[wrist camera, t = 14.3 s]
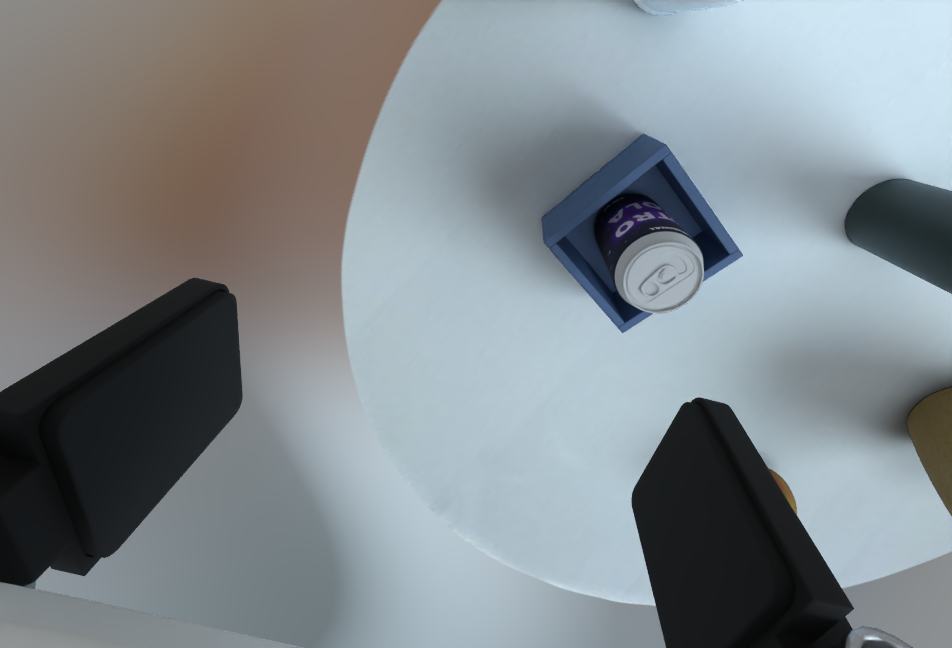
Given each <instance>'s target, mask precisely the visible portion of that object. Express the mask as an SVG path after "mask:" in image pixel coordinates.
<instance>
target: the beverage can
mask: <svg viewBox="0 0 952 648" xmlns="http://www.w3.org/2000/svg"><path fill="white" fill-rule="evenodd" d="M594 234H595V239H596V242H597V244H598V247H599V249H600V252H601V254H602V257H603V259H604V261H605V264H606V266H607V269H608V271H609V274H610V276H611V279H612V281H613V283H614V286H615V288H616V290H617V292H618V294H619V295H620V297H621V298H622V299H623V300H624V301H626V302H627V303H628V304H630V305H632V306H634V307H636V308H638V309H640V310H642V311H645V312H649V313H666V312H671V311H673V310H676V309H678V308H680V307H682V306H684V305H685V304H687V303H688V302H689V301H690V300H691V299H692V298H693V297H694V296H695V295H696V294H697V292H698V291H699V289H700V287H701V285H702V282H703V278H704V259H703V254H702V251H701V249H700V247H699V246H698V244H697V243H696V242H695V241H694V240H693V239H692V238H691V237H690V236H689V235H688V234H687V233H686V232H685V231H684V230H683V229H682V228H681V227H680V226H679V225H678V224H677V223H676V222H675V221H674V220H673V219H672V218H671V217H670V216H669V215H668V214H667V213H666V212H665V211H664V210H663V209H662V208H661V207H660V206H659V205H658V204H657V203H656V202H655V201H654V200H652V199H651V198H649V197H647V196H644V195H641V194H627V195H622V196H620V197H617V198H615V199H613V200H612V201H610V202H609V203H608V204H607V205H606V206H605V207H604V208H603V209H602V210H601V212H600V213H599V215H598V217H597V219H596V222H595V228H594Z"/></svg>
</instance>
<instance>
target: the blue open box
mask: <svg viewBox="0 0 952 648" xmlns="http://www.w3.org/2000/svg"><path fill="white" fill-rule="evenodd" d="M627 194H641V195H644V196H647V197H649V198H651V199H652V200H654V201H655V202H656V203H657V204H658V205H659V206H660V207H661V208H662V209H663V210H664V211H665V212H666V213H667V214H668V215H669V216H670V217H671V218H672V219H673V220H674V221H675V222H676V223H677V224H678V225H679V226H680V227H681V228H682V229H683V230H684V231H685V232H686V233H687V234H688V235H689V236H690V237H691V238H692V239H693V240H694V241H695V242H696V243H697V244H698V246H699V247H700V249H701V251H702V254H703V259H704V278H703V281H705V280H706V279H708V278H709V277H711V276H712V275H714V274H716V273H717V272H719V271H720V270H722V269H723V268H725V267H726V266H728V265H730V264H731V263H733V262H734V261H736V260H737V259H739V258H740V257H742V256H743V254H742V253H741V251H740V250H739V249H738V247H737V246H736V244H735V243H734V241H733V240H732V238H731V237H730V236H729V234H728V233H727V231H726V230H725V228H724V227H723V225H722V224H721V223H720V221H719V220H718V218H717V217H716V215H715V214H714V213H713V211H712V210H711V208H710V207H709V205H708V204H707V202H706V201H705V200H704V198H703V197H702V195H701V194H700V192H699V191H698V190H697V188H696V187H695V185H694V184H693V182H692V181H691V179H690V178H689V177H688V175H687V174H686V172H685V171H684V169H683V168H682V167H681V165H680V164H679V162H678V161H677V159H676V158H675V156H674V155H673V154H672V153H671V151H670V149H669V148H668V146H667V145H666V144H664V143H662V142H660V141H658V140H656V139H654V138H652V137H649V136H647V135H645V134H643V135H641V136H640V137H639V138H638V139H637V140H635V141H634V142H633V143H632V144H630V145H629V146H628V147H627V148H626V149H624V150H623V151H622V152H621V153H620V154H618V155H617V156H616V157H615V158H614V159H612V160H611V161H610V162H609V163H608V164H606V165H605V166H604V167H603V168H602V169H600V170H599V171H598V172H597V173H596V174H594V175H593V176H592V177H591V178H590V179H588V180H587V181H586V182H585V183H583V184H582V185H581V186H580V187H579V188H577V189H576V190H575V191H574V192H573V193H571V194H570V195H569V196H568V197H567V198H565V199H564V200H563V201H562V202H561V203H559V204H558V205H557V206H556V207H555V208H553V209H552V210H551V211H550V212H549V213H547V214H546V215H545V216H544V217H543V218H542V229H543V240H544V243H545V244H546V246H547V247H548V248H549V249H550V250H551V251H552V253H553V254H554V255H555V256H556V257H557V258H558V259H559V261H560V262H561V263H562V264H563V265H564V266H565V267H566V269H567V270H568V271H569V272H570V273H571V274H572V276H573V277H574V278H575V279H576V280H577V281H578V282H579V284H580V285H581V286H582V287H583V288H584V289H585V291H586V292H587V293H588V294H589V295H590V296H591V297H592V299H593V300H594V301H595V302H596V303H597V304H598V306H599V307H600V308H601V309H602V310H603V311H604V312H605V314H606V315H607V316H608V317H609V318H610V319H611V321H612V322H613V323H614V324H615V325H616V326H617V327H618V328H619V330H620V331H621V332H622V333H624V332H625V331H627V330H628V329H630V328H631V327H633V326H635V325H636V324H638V323H639V322H641V321H642V320H644V319H645V318H647V317H649V316H650V315H652V314H653V313H649V312H645V311H642V310H640V309H638V308H636V307H634V306H632V305H630V304H628V303H627V302H626V301H624V300H623V299H622V298H621V297H620V295H619V294H618V292H617V290H616V288H615V286H614V283H613V281H612V279H611V276H610V274H609V271H608V269H607V266H606V264H605V261H604V259H603V257H602V254H601V252H600V249H599V247H598V244H597V242H596V239H595V234H594V228H595V222H596V219H597V217H598V215H599V213H600V212H601V210H602V209H603V208H604V207H605V206H606V205H607V204H608V203H609V202H610V201H612V200H613V199H615V198H617V197H620V196H622V195H627Z"/></svg>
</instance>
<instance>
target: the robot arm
mask: <svg viewBox="0 0 952 648" xmlns="http://www.w3.org/2000/svg"><path fill="white" fill-rule="evenodd" d="M241 402H242V382H241V367H240V350H239V334H238V319H237V303H236V298H235V296H234V295H233V294H231V293H229V290H228V288H227V286H225V285H224V284H220V283H215V282H211V281H207V280H203V279H199V278H192V279H189V280H188V281H186V282H185V283H183V284H181V285H179V286H178V287H176V288H174V289H173V290H171V291H169V292H167V293H166V294H164V295H162V296H161V297H159V298H157V299H156V300H154V301H152V302H151V303H149V304H147V305H146V306H144V307H142V308H141V309H139V310H137V311H136V312H134V313H132V314H131V315H129V316H128V317H126V318H124V319H122V320H120V321H119V322H117V323H115V324H114V325H112V326H111V327H109V328H107V329H106V330H104V331H102V332H100V333H99V334H97V335H95V336H93V337H92V338H90V339H89V340H87V341H85V342H84V343H82V344H80V345H78V346H77V347H75V348H73V349H72V350H70V351H68V352H67V353H65V354H63V355H62V356H60V357H58V358H56V359H55V360H53V361H51V362H50V363H48V364H47V365H45V366H43V367H41V368H40V369H38V370H36V371H35V372H33V373H31V374H30V375H28V376H26V377H25V378H23V379H21V380H20V381H18V382H16V383H14V384H13V385H11V386H9V387H8V388H6V389H4V390H3V391H1V392H0V648H302V647H297V646H293V645H289V644H285V643H280V642H276V641H271V640H267V639H262V638H258V637H253V636H249V635H244V634H240V633H235V632H231V631H226V630H222V629H217V628H212V627H208V626H203V625H198V624H195V623H189V622H185V621H181V620H176V619H172V618H167V617H163V616H158V615H154V614H149V613H145V612H140V611H135V610H131V609H127V608H122V607H118V606H113V605H109V604H104V603H100V602H95V601H90V600H86V599H81V598H77V597H71V596H67V595H62V594H57V593H51V592H47V591H41V590H37V589H35V585H36V580H37V579H38V578H39V576H41V574H43V572H44V571H45V570H46V569H47V568H48V567H49V566H50V567H51V568H52V569H55V570H60V571H64V572H68V573H73V574H77V575H82V576H85V575H86V574H87V573H88V572H89V571H90V569H91V568H92V567H93V566H94V565H95V564H96V563H97V562H98V561H99V559H100V558H101V557H103V558H106V557H108V556H110V555H111V554H113V553H114V552H115V551H117V550H118V549H119V548H120V546H121V545H122V544H123V543H124V542H125V541H126V539H127V538H128V537H129V536H130V535H131V534H132V533H133V531H134V530H135V529H136V528H137V527H138V526H139V525H140V523H141V522H142V521H143V520H144V519H145V518H146V517H147V515H148V514H149V513H150V512H151V511H152V509H153V508H154V507H155V506H156V505H157V504H158V503H159V502H160V500H161V499H162V498H163V497H164V496H165V495H166V493H167V492H168V491H169V490H170V489H171V488H172V487H173V485H174V484H175V483H176V482H177V481H178V480H179V479H180V477H181V476H182V475H183V474H184V473H185V472H186V471H187V469H188V468H189V467H190V466H191V465H192V464H193V463H194V461H195V460H196V459H197V458H198V457H199V456H200V454H201V453H202V452H203V451H204V450H205V449H206V447H207V446H208V445H209V444H210V443H211V442H212V440H214V438H215V437H216V436H217V435H218V434H219V433H220V431H221V430H222V429H223V428H224V427H225V426H226V425H227V423H228V422H229V421H230V420H231V419H232V418H233V417H234V415H235V414H236V413H237V411H238V409H239V408H240V405H241ZM632 508H633V512H634V517H635V521H636V525H637V529H638V533H639V537H640V541H641V545H642V550H643V554H644V558H645V562H646V566H647V570H648V574H649V578H650V583H651V587H652V591H653V595H654V599H655V603H656V607H657V611H658V615H659V620H660V624H661V628H662V632H663V636H664V640H665V644H666V648H913V647H911V646H910V645H908V644H907V643H905V642H903V641H902V640H900V639H899V638H897V637H895V636H894V635H891V634H889V633H887V632H884V631H882V630H879V629H877V628H870V627H864V626H862V627H859V628H856V629H852V628H851V626H850V624H849V622H848V621H847V619H846V617H845V616H846V615H847V614H849V613H850V612H851V611H852V610H853V609H854V608H853V606H852V604H851V603H850V601H849V600H848V598H847V596H846V595H845V593H844V592H843V590H842V588H841V587H840V585H839V583H838V582H837V580H836V578H835V577H834V575H833V574H832V572H831V570H830V569H829V567H828V565H827V564H826V562H825V560H824V559H823V557H822V556H821V554H820V552H819V551H818V549H817V547H816V546H815V544H814V543H813V541H812V539H811V538H810V536H809V534H808V533H807V531H806V530H805V528H804V526H803V525H802V523H801V521H800V520H799V518H798V517H797V515H796V513H795V512H794V510H793V508H792V507H791V505H790V503H789V502H788V500H787V499H786V497H785V495H784V494H783V492H782V490H781V489H780V487H779V486H778V484H777V482H776V481H775V479H774V477H773V476H772V474H771V473H770V471H769V469H768V468H767V466H766V464H765V463H764V461H763V459H762V458H761V456H760V455H759V453H758V451H757V450H756V448H755V446H754V445H753V443H752V442H751V440H750V438H749V437H748V435H747V433H746V432H745V430H744V429H743V427H742V425H741V424H740V422H739V420H738V419H737V417H736V415H735V414H734V412H733V411H732V409H731V408H730V407H729V405H727V404H724V403H720V402H716V401H712V400H708V399H703V398H695V399H694V400H692V401H691V403H690V402H686V403H684V404H683V405H682V406H681V408H680V409H679V411H678V413H677V415H676V416H675V418H674V420H673V422H672V423H671V425H670V427H669V428H668V430H667V432H666V434H665V435H664V437H663V439H662V441H661V442H660V444H659V446H658V448H657V449H656V451H655V453H654V454H653V456H652V458H651V460H650V461H649V463H648V465H647V467H646V468H645V470H644V472H643V474H642V475H641V477H640V479H639V481H638V482H637V484H636V486H635V488H634V490H633V493H632Z"/></svg>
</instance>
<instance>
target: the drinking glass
mask: <svg viewBox="0 0 952 648" xmlns="http://www.w3.org/2000/svg"><path fill="white" fill-rule="evenodd" d="M634 1H635V3H636V4H637V5H638V6H639V7H640V8H641V9H642V10H643V11H645V12H647V13H649V14H652V15H657V16H665V15H670V14H674V13H676V12H681V11H690V10H701V9H710V8H717V7H722V6H726V5H730V4H734V3H737V2H740V1H743V0H634Z"/></svg>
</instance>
